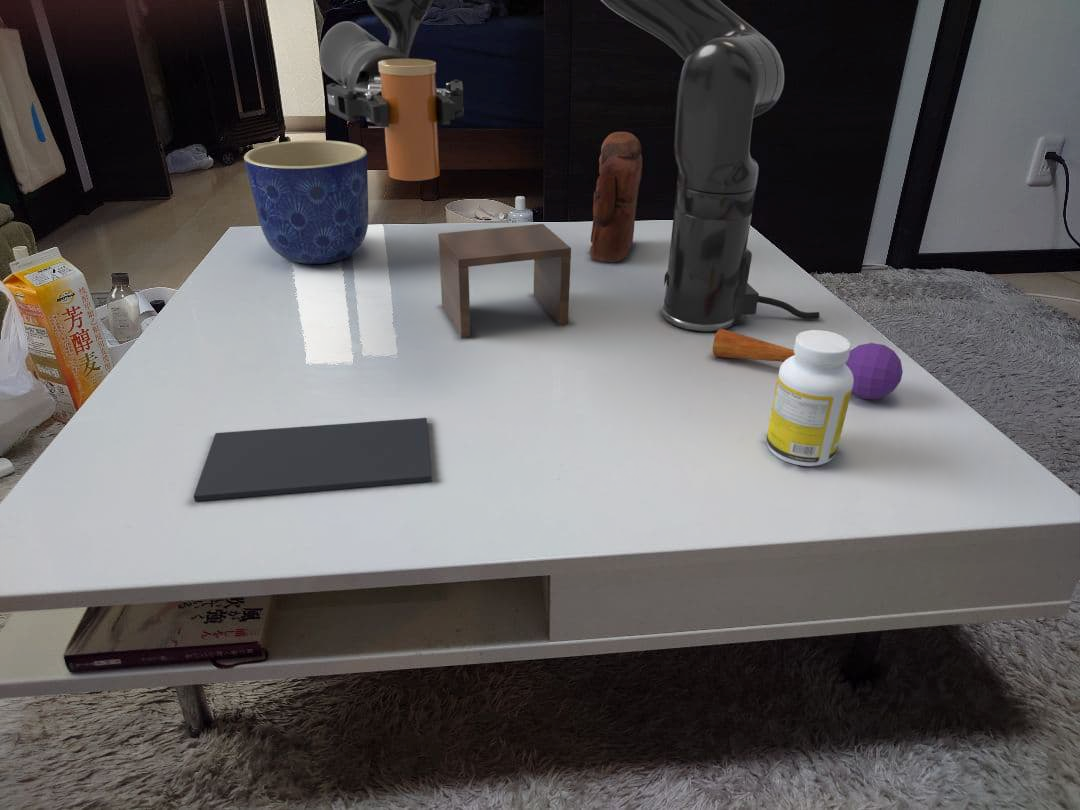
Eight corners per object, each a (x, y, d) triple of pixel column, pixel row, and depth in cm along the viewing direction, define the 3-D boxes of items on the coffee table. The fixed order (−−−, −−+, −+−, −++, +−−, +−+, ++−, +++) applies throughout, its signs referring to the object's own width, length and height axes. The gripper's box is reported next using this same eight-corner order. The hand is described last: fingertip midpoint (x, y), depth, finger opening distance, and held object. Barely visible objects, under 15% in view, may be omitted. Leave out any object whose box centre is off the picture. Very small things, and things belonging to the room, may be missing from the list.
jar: (439, 166, 78) (434, 58, 72) (442, 180, 73) (437, 66, 68) (387, 167, 77) (378, 58, 72) (386, 181, 72) (377, 66, 67)
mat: (426, 422, 77) (426, 417, 77) (431, 481, 69) (431, 475, 68) (216, 438, 74) (215, 432, 74) (194, 501, 66) (193, 495, 65)
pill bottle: (821, 431, 77) (846, 325, 71) (845, 469, 71) (875, 357, 65) (756, 432, 77) (776, 325, 71) (775, 469, 71) (799, 357, 65)
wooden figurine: (599, 238, 127) (606, 124, 118) (637, 242, 126) (647, 127, 117) (584, 262, 117) (590, 139, 108) (625, 266, 116) (635, 143, 107)
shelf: (541, 294, 106) (543, 223, 101) (568, 323, 98) (571, 247, 93) (441, 307, 102) (438, 233, 97) (461, 338, 94) (458, 259, 89)
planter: (290, 283, 108) (272, 173, 100) (244, 250, 119) (225, 149, 111) (396, 258, 117) (388, 155, 109) (344, 230, 128) (333, 135, 121)
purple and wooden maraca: (730, 313, 92) (911, 343, 82) (723, 361, 94) (900, 396, 84) (712, 321, 87) (902, 354, 77) (705, 372, 89) (890, 410, 79)
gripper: (311, 48, 79) (329, 71, 66) (448, 45, 84) (492, 67, 70) (320, 124, 83) (339, 161, 69) (451, 118, 87) (492, 152, 74)
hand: (415, 114), depth 70 cm, fingers closed on jar, 5 cm apart
